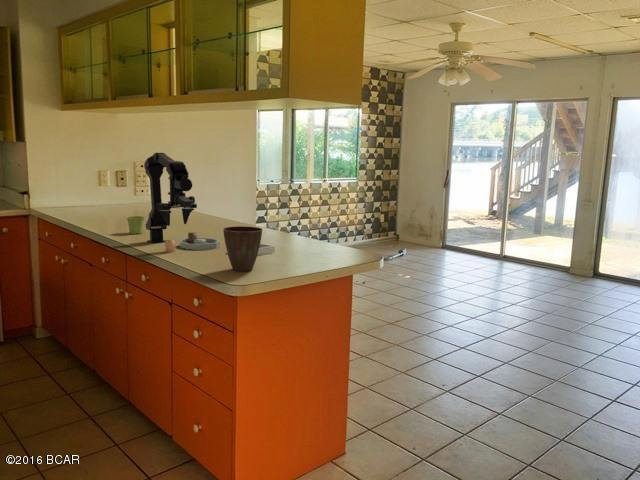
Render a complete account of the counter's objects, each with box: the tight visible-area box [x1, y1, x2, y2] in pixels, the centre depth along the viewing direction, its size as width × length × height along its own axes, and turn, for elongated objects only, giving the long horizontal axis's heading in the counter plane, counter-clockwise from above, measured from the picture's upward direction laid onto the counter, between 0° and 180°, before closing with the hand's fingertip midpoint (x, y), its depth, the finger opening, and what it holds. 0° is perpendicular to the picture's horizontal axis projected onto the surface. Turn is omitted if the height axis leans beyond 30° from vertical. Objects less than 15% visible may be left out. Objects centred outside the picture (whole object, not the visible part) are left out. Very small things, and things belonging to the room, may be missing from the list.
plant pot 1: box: [125, 215, 145, 235], centre depth 283 cm, size 9×9×9 cm
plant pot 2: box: [222, 225, 263, 272], centre depth 206 cm, size 15×15×16 cm
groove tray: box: [179, 237, 221, 251], centre depth 252 cm, size 18×18×3 cm
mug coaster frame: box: [257, 242, 276, 257], centre depth 242 cm, size 14×16×3 cm
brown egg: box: [164, 239, 176, 254], centre depth 237 cm, size 4×4×5 cm
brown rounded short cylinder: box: [187, 231, 198, 244], centre depth 255 cm, size 4×4×5 cm
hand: (177, 224), depth 240 cm, fingers open, 9 cm apart
